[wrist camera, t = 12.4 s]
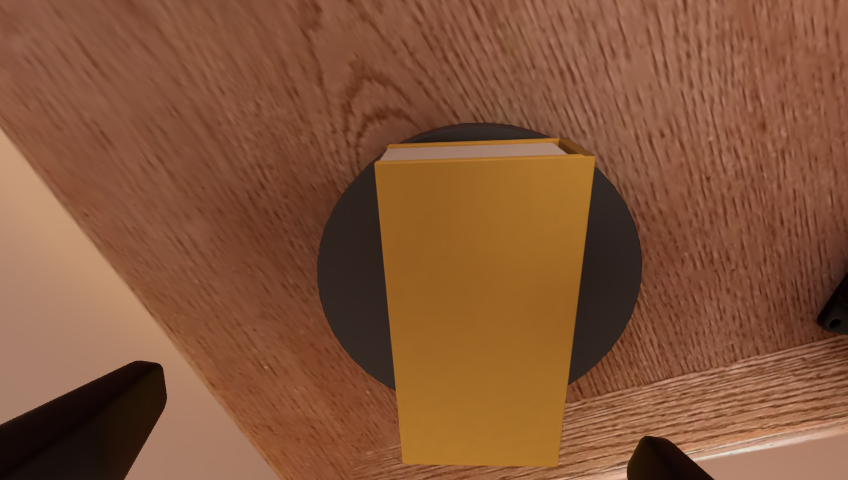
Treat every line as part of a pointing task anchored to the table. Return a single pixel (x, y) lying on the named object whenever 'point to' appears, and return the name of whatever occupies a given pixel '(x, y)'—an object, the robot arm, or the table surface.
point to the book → (483, 294)
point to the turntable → (365, 277)
